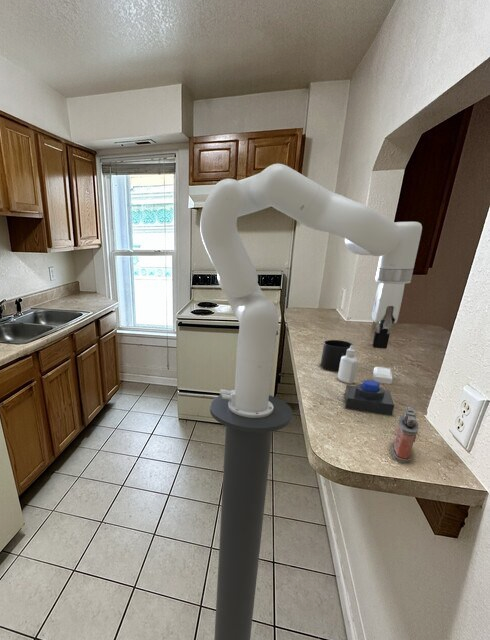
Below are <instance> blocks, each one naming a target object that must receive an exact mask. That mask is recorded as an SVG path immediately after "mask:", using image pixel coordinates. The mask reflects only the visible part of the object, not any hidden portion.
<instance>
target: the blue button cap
mask: <svg viewBox="0 0 490 640" xmlns="http://www.w3.org/2000/svg"><path fill="white" fill-rule="evenodd" d="M361 384H362V389H364V390H367V391H372V392H377V391H378V390H379V386H380V383H379V382H376V381H374V380H373V379H364V380H363V381H362V383H361Z"/></svg>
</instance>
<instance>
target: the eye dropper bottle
mask: <svg viewBox="0 0 490 640" xmlns="http://www.w3.org/2000/svg"><path fill="white" fill-rule="evenodd" d="M355 355H356V350H355V348H354V344H353V345H351V346H350V348H349V349H347V352H346V356H342V357H341V361H340V366H339V372H337V379H338V381H340V382H342V383H345V384H347V385H350V384H355V382H356V376H357V371H358V365H359V361H358V359H357V358H356V357H355Z"/></svg>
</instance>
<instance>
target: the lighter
mask: <svg viewBox="0 0 490 640" xmlns="http://www.w3.org/2000/svg"><path fill="white" fill-rule="evenodd" d="M419 427H420V426H419V422H418V421H417V413H416V412H415V410H414V408H413V407H412V406H407V407H406V409H405V414H400V415H399V419H398V427H397V431H396V435H395V439H394V441H393V443H392V447H391V454H392V457H393V459H394V460H395V461H396V462H398V463H401V464H409V463H410V462H411V458H412V449H413V445H414V443H415V442H416V439H417V435H418V432H419Z"/></svg>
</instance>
